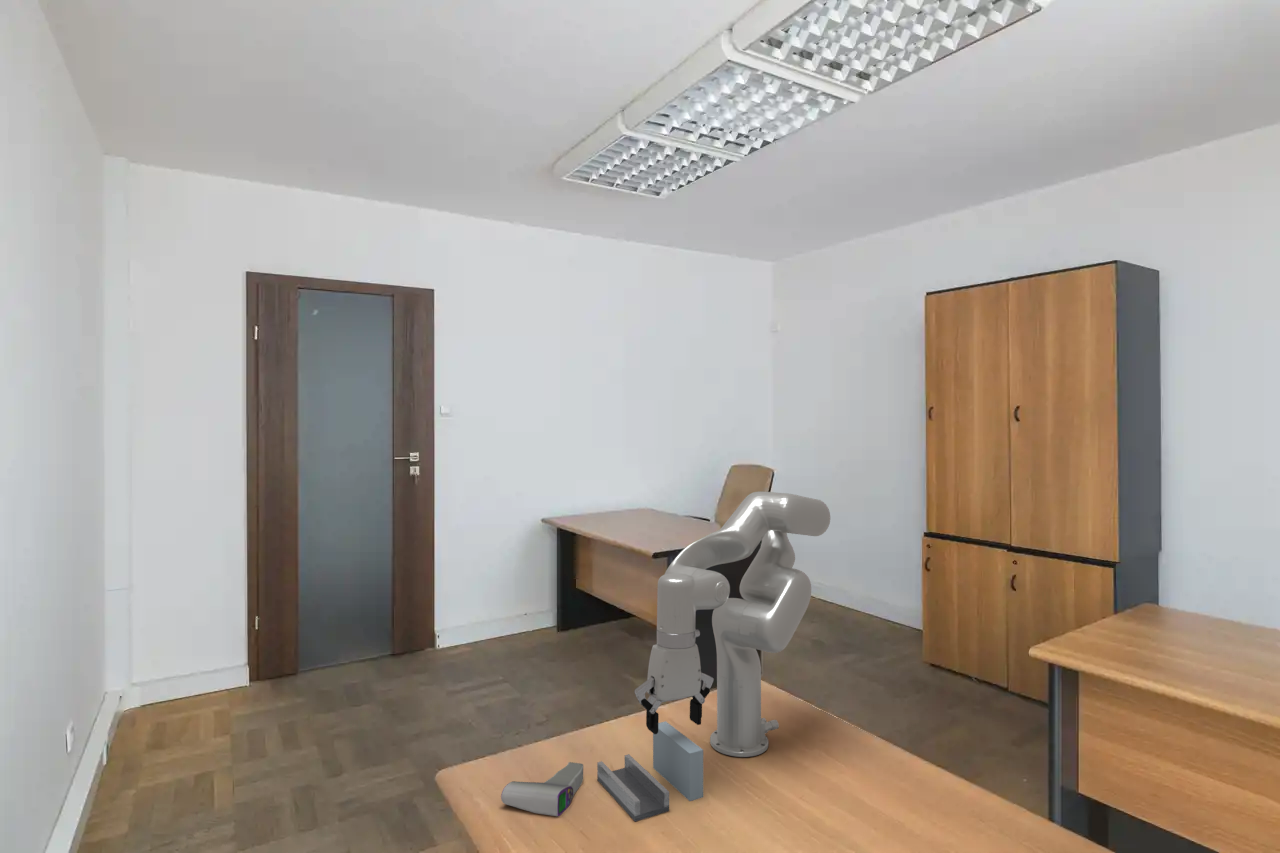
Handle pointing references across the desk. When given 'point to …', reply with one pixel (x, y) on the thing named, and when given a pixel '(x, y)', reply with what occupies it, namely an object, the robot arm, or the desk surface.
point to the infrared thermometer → (545, 792)
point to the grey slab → (678, 761)
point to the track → (634, 789)
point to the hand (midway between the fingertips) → (674, 726)
